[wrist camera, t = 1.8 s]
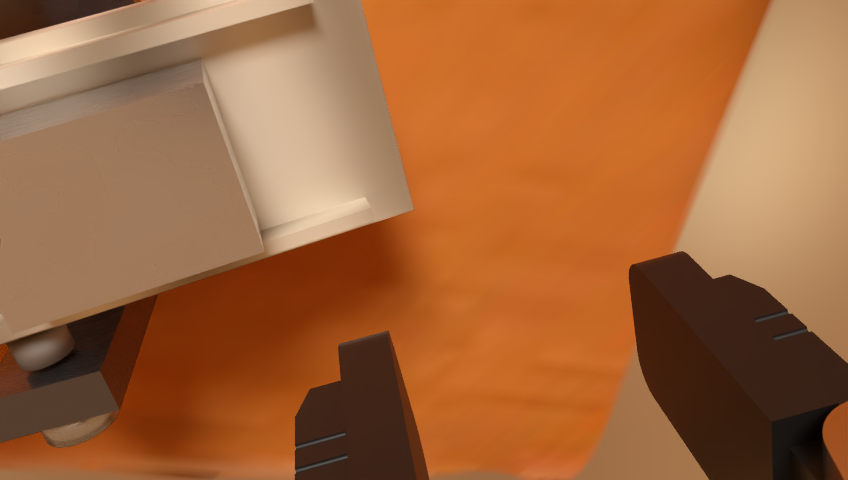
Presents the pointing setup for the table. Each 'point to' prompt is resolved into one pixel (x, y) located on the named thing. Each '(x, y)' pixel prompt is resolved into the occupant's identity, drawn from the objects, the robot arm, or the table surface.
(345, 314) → the table surface
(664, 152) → the table surface
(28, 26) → the stand
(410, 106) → the table surface
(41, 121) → the rider
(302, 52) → the beam
